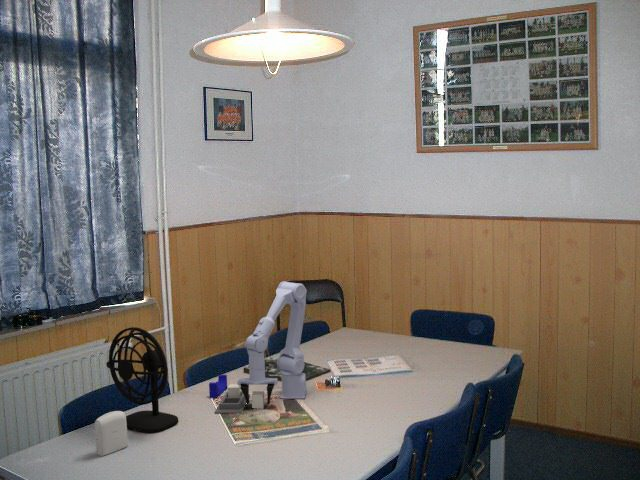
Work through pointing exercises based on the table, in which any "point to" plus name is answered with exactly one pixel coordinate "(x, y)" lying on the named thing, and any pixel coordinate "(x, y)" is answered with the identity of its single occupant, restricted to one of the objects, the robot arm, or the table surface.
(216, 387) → the cable clip
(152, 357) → the desk fan
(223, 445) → the table surface
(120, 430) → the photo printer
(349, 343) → the table surface
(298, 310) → the robot arm
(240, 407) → the grey stepped block
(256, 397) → the light gray rectangular block
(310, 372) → the topographical map
